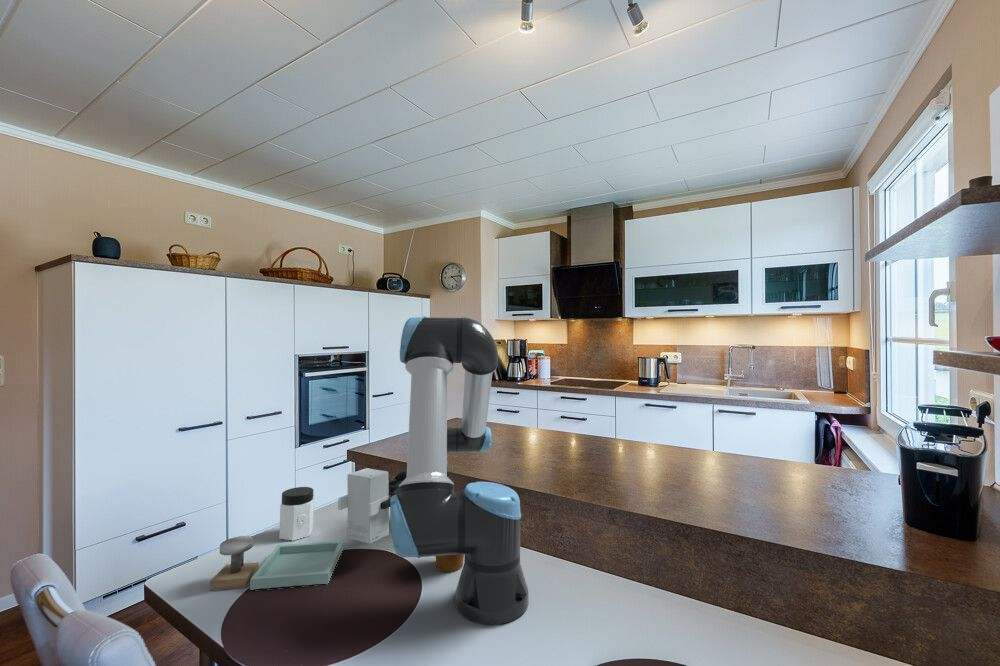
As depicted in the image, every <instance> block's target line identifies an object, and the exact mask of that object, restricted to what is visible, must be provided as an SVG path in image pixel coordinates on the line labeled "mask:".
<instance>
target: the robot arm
mask: <svg viewBox="0 0 1000 666" xmlns="http://www.w3.org/2000/svg"><path fill="white" fill-rule="evenodd" d="M399 361H400V362H401V363H402V364H404V366H405V367H404V368H405V370H406V371H407V372H408V373H409V374H410V375H411V376H410V395H409V396H410V398H409V401H410V402H409V420H408V435H407V436H408V437H407V438H408V440H407V458H406V459H407V460H406V462H407V463H406V469H405V470H402V471H399V472H398V473H397V474H396V476H394V479H391V480H389V496H385V497H383V498H380V499H378V500H376V501H374V502H372V503H369V507H368V516H372V515H374V514H376V513H379V512H381V511H383V510H385V509H387V508H389V511H390V512H389V518H390V528H391V529H390V530H391V538H392V539H391V540H392V545H393V549H394V552H395V554H396V555H397V556H398V557H400V558H417V559H420V558H424V557H436V556H443V555H457V554H464V558H463V566H462V570H461V573H460V576H459V579H458V581H457V585H456V588H455V607H456V610H457V612H458V613H459V614H460V615H462V617H464V618H466V619H467V620H469V621H471V622H474V623H477V624H481V625H500V624H507V623H508V622H512V621H514V620H516V619H518V618H520V617H521V616H522V615H524V613H525V612H526V611H527V609H528V607H529V588H528V584H527V582H526V577H525V575H524V571H523V568H522V564H521V518H522V513H521V512H522V511H521V501H520V497H519V494H518V493H517V491H516V490H514V489H512V488H511V487H509V486H506V485H504V484H501V483H496V482H490V481H475V482H470V483H467V484H466V486H465V488H464V489H463V492H455V484H454V481H452V480H451V479H450V478H449V476H448V477H447V466H448V465H449V462H448V454H449V453H481V452H489V451H490V450H491V448H492V429H491V428H490V427H488V426H487V422H488V414H489V403H490V398H491V389H492V379H493V373H494V372H495V371H496V370H497V368H498V363H499V353H498V348H497V345H496V342H495V340H494V338H493V336H492V334H491V333H490V331H488V329H487V328H486V327H485V326H484V325H483V324H482V323H481V322H479V321H477V320H475V319H472V318H469V317H435V316H434V317H431V316H430V317H429V316H428V317H427V316H420V317H418V316H417V317H416V316H415V317H414V316H413V317H409V318H408V319H406V321H405V323H404V326H403V329H402V332H401V338H400V346H399ZM454 364H461V366H462V369H463V370H464V384H463V399H462V400H463V401H462V415H461V427H448V375H449V374H450V373H451V372H452V371H454ZM337 506H338V507H337V510H338V511H342V510H345V509H348V494H346V495H343V496H340V497H338V502H337Z"/></svg>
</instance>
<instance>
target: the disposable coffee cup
mask: <svg viewBox="0 0 1000 666" xmlns="http://www.w3.org/2000/svg"><path fill="white" fill-rule="evenodd" d="M464 558H465V554H457V555H443V556H435V560H436V561H435V562H436V568H437V570H439V571H441V572H442V573H443V572H445V573H453V572H457V571H458V570H461V568H463V566H464Z"/></svg>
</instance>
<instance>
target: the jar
mask: <svg viewBox="0 0 1000 666" xmlns="http://www.w3.org/2000/svg"><path fill="white" fill-rule="evenodd" d="M314 496H315V495H314V488H312V487H310V486H299V487H298V486H297V487H292V488H289V489H286V490H284V491H283V492H282V493H281V503H280V505H279V507H280V509H279V537H278V539H279V540H283V539H284V540H285V541H289V540H292V541H291V542H294V541H293V540H295V541H298V540H300V538H302V539H304V538H303V537H305V538H308V537H310V536H311V534H312V532H313V531H314V515H315V514H314V507H315V497H314ZM307 536H308V537H307ZM297 539H298V540H297Z"/></svg>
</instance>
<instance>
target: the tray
mask: <svg viewBox="0 0 1000 666" xmlns="http://www.w3.org/2000/svg"><path fill="white" fill-rule="evenodd" d="M342 551H343V552H344V540H338V541H337V540H335V541H324V542H323V541H322V542H307V543H306V542H305V543H294V544H293V543H292V544H279V545H276V547H275V548H274V549H273V550H272V552H271V553H270V554H269V555H268V556H267V558H266V559H265V560H264V561H263V563H262V564H261V566H259V569H258V570H257V572H256V573H255V574H254V575H253V577H252V578H251V579H250V582H249V591H250V590H254V589H260V588H271V587H282V586H293V585H310V584H311V585H312V584H326V585H329V584H328V583H330V582H329V581H331V579H332V577H331V576H333V575H332V573H333V574H334V572H335V570H336V568H335V566H336V564H337V565H338V563H339V561H340V559H339V557H340V555H341V556H342V554H343V552H342ZM341 553H342V554H341ZM340 558H341V557H340ZM338 560H339V561H338ZM337 562H338V563H337ZM336 567H337V566H336ZM334 569H335V570H334ZM333 571H334V572H333ZM330 578H331V579H330Z"/></svg>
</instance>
